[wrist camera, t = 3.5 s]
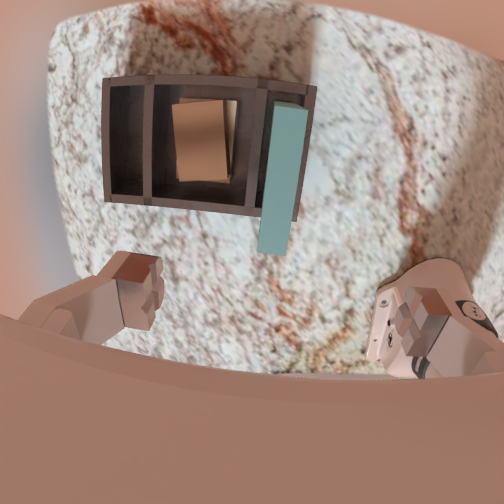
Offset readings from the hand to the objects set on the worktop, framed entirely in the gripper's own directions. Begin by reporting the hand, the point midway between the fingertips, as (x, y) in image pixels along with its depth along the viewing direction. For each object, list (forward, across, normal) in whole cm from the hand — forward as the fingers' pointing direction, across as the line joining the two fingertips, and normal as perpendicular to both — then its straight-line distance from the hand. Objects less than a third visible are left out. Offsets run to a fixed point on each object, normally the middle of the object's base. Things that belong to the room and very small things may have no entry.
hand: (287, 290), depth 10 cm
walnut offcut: (+25, -8, 0) cm, 26 cm away
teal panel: (+27, 0, 0) cm, 27 cm away
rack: (+29, -9, 0) cm, 30 cm away
